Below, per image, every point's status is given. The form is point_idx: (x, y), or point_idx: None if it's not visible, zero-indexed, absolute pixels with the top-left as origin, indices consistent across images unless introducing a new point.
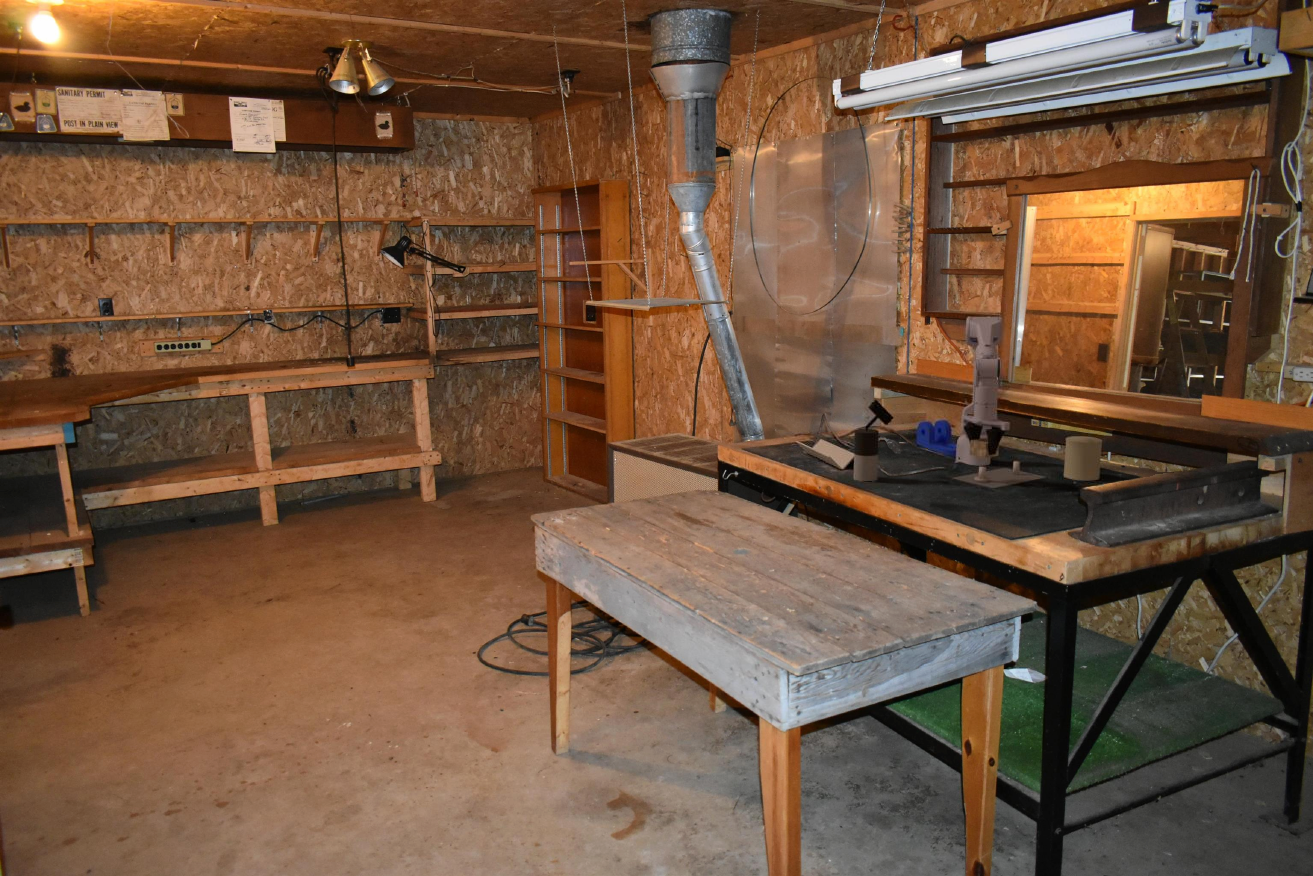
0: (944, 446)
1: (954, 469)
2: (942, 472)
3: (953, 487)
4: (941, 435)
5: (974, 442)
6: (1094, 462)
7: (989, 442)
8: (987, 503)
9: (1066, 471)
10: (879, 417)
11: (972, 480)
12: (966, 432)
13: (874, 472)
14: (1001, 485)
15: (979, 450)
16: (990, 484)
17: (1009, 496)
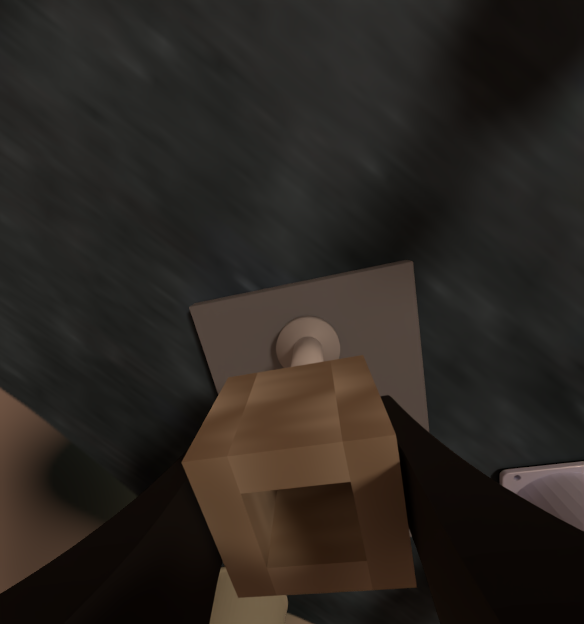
0: None
1: (569, 404)
2: (563, 330)
3: (315, 199)
4: None
5: (334, 430)
6: None
7: (162, 492)
8: (36, 162)
9: (242, 604)
10: None
11: (330, 315)
12: (545, 519)
13: None
14: (216, 362)
15: (272, 395)
16: (244, 336)
17: (121, 314)
